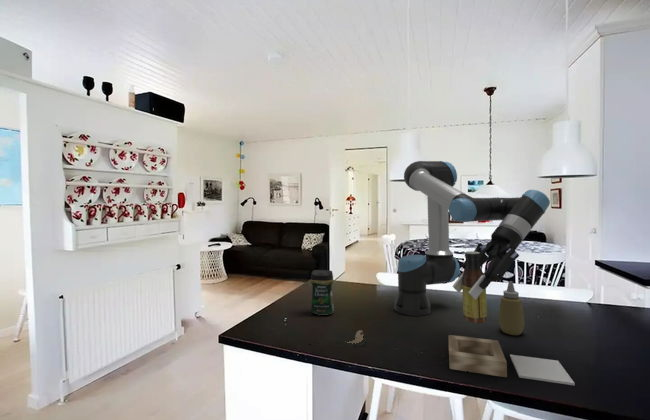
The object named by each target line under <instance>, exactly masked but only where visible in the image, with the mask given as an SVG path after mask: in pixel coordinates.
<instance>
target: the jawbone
mask: <svg viewBox="0 0 650 420" xmlns="http://www.w3.org/2000/svg"><path fill="white" fill-rule="evenodd" d="M363 336H364V337H365V335H364V333H363V330H361V329H360V330H357V332H356V333H355V335H354V338H355V340H354V339H353V340H351V341H349V342H347V343H352V344H353V343H355V344H356V343H359V342H361V341H362V340H363V339H364V338H363Z"/></svg>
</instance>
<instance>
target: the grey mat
mask: <svg viewBox="0 0 650 420" xmlns="http://www.w3.org/2000/svg"><path fill="white" fill-rule="evenodd" d="M509 357H510V360H511V362H512V364H513V367H514V368H515V372H516V374H517V375H518V378H521V379H528V380H534V381H541V382H546V383H547V382H548V383H555V384H560V385H561V384H562V385H567V386H568V385H569V386H575V381H574V380H573V379H572V378H571V376H570V374H568V372H567V370H566V369H565V368H564V367H563V365H562V364H561V362H560V361H559V360H557V359H555V360H554V359H548V358H541V357H533V356H524V355H515V354H509Z"/></svg>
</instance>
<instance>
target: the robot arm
mask: <svg viewBox="0 0 650 420" xmlns="http://www.w3.org/2000/svg"><path fill="white" fill-rule="evenodd" d="M403 179H404V183H405V184H406V186H407V187H409V188H410V189H411V190H413V191H416V192H421V193H422V194H424V195H425V196H427V228H428V229H427V231H428V232H427V233H428V235H427V236H428V237H427V238H428V250H426V251H425V254H423V255H422V254H408V255H404V256H402V257H400V258H399V259H398V261H397V280H398V281H397V284H398V287H397V288H398V291H397V292H398V293H397V295H396V298H395V302H394V310H396V311H397V313H398V312H399V313H398V314H401V315H404V314H405V316H411V317H412V316H413V317H420V316H421V317H422V316H427V315H429V314H431V312H432V309H431V308H432V307H431V303H430V300H429V297H428V294H427V286H429V285H430V286H431V285H440V284H442V285H445V284H449V283H453V282H454V283H453V285H452V287H453V288H454V290H455V291H456V292H457V293H461V291H463V290H462V277H463V273H464V271H465V268H466V260H464V261H463V263H461V266H460V262H458V259H457V258H456V257H455V256H454V252H452V251H451V249H450V234H449V233H450V229H449V228H450V227H449V226H450V225H449V223H450V222H449V216H450V217H451V220H452V221H455V222H460V223H461V222H463V223H469V222H486V221H487V222H489V221H492V222H493V221H494V222H495V221H501V222H500V223H499V224H498V226H497V227H496V228H495V229H494V231H493V232H492V233H491V235H490V237H491V238H490V241H488V242H487V243H486V244H482V243H481V242H480V243H477V245H476V248H475V249H474V250H473V252H479V253H480V268H481V267H482V266H483V265H484V264H486V263H487V262H489V264H488V267H487V269H486V271H485V272H483V273H484V275H481V277H480V278H479V279H478V281H477V282H476V283H475V284H474V286H473V287H472V288H471V290H470V291H469V292H468V293H469V294H470V295H471V296H472V297H473V298H474V299H477V298H478V296H479V295H480V294H481V292H482V291H483V290H485V289H486V290H487V288H488V286H489V285H490V284H491V283H492V282H494V281H496V282H500V281H501V280H502V279H503V278H504V276H505V274H506V273H507V271H508V270H509V269H510V267H511V266H512V265H513V262H514V261H516V260H517V258H519V256H520V254H519V253H518V252H517V251H516V250H517V248H518V247H519V246H520V245H521V243H522V242H523V240H525V238H526V236H527V235H528V234H529V233H530V231H531V230H532V229H533V228H534V226H535V225H536V224H537V223H538V221H539V220H540V219H541V217H542V216H543V215H545V213H546V211H547V209H548V207H549V206H550V204H551V201H550V198H549V197H548V196H547V195H546V194H545V193H544V192H542V191H540V190H537V189H528V190H526V191H525V192H523V194H522V195H521V196H520V197H498V196H497V197H472V196H470V195H468V194H466V193H465V192H463V191H462V190H459V189H458V188H455V185H456V182H457V181H458V173H457V170H456V167H455V166H454V165H453V163H450V162H448V161H443V160H437V161H436V160H428V161H427V160H418V161H413V162H412V163H410V164H409V165H408V166H407V167H406V168H405V169H404V173H403ZM460 267H461V268H462V269H463V271H462V272H461V274H460V271H461V270H460ZM459 274H460V275H459ZM396 311H395V312H396Z"/></svg>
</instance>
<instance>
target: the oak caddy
mask: <svg viewBox="0 0 650 420" xmlns="http://www.w3.org/2000/svg"><path fill="white" fill-rule="evenodd" d="M448 361H449V362H448V363H449V364H448V365H449V369H450V370H454V371H461V372H467V371H468V372H469V373H475V374H481V375H487V376H488V375H489V376H494V377H501V378H508V368H507V367H508V364H507V363H508V362H507V359H506V357H505V355H504V352H503V349H502V347H501V345H500V342H499V339H498V340H496V339H486V338H479V337H478V338H477V337H470V336H463V335H455V334H454V335H453V334H452V335H451V334H448Z"/></svg>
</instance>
